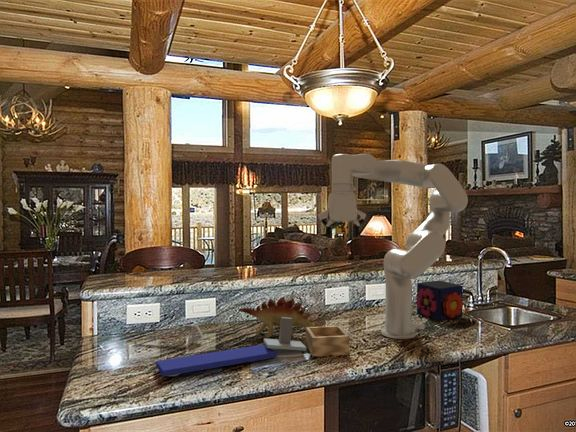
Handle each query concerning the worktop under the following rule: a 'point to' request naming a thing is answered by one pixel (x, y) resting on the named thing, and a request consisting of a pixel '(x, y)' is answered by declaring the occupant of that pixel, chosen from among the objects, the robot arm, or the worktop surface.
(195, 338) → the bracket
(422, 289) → the decorative cube
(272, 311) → the toy
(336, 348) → the pine box
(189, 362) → the long blue plank
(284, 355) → the mat
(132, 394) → the worktop surface
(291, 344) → the lid
